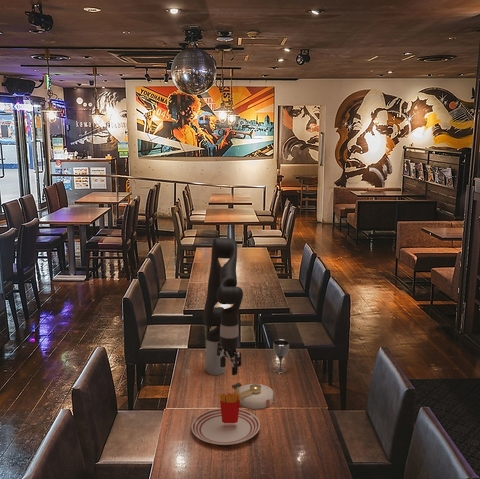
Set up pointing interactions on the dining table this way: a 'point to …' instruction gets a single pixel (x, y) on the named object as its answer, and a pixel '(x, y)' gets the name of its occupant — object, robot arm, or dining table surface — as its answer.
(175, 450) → the dining table surface
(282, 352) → the wine glass
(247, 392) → the crank
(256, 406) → the crank housing
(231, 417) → the french fries
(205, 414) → the dinner plate
